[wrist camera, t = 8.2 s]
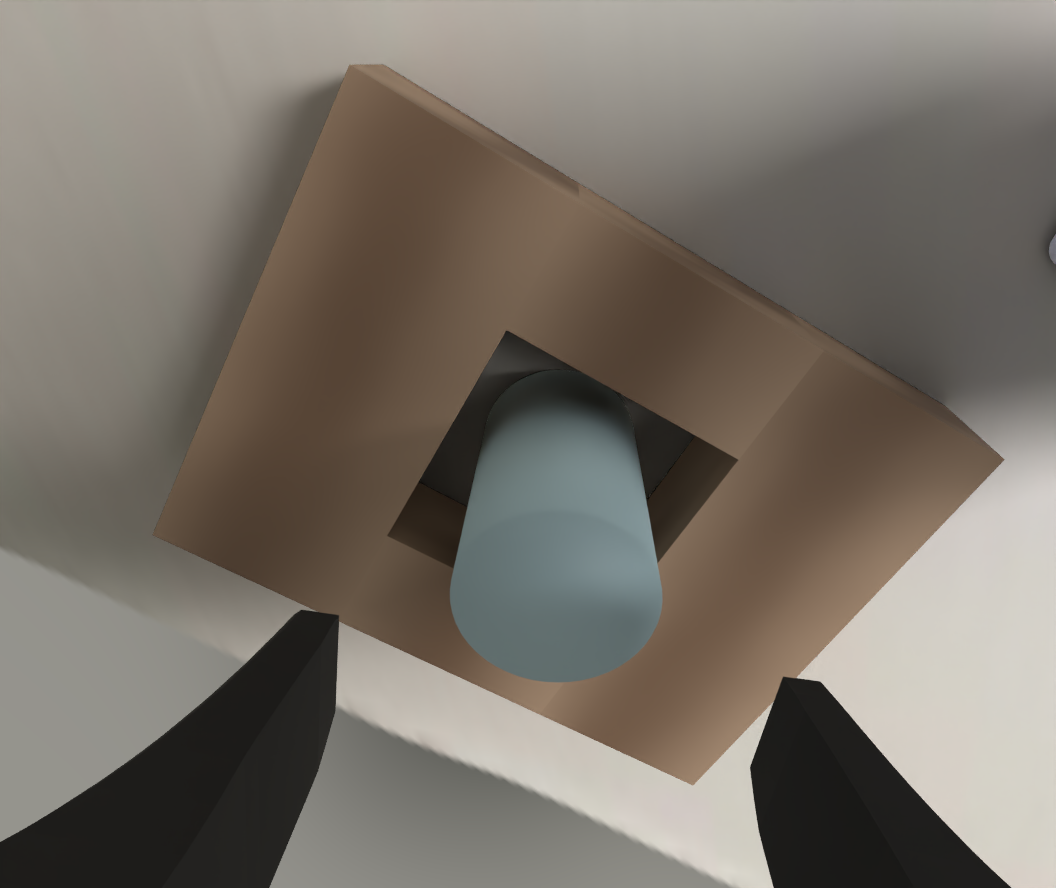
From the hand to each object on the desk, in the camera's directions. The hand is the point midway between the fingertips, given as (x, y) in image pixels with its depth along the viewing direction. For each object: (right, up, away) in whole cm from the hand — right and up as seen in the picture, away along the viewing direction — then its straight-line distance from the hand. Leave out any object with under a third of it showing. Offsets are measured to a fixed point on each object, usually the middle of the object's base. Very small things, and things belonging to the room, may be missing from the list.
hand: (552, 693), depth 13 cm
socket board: (0, +4, +8) cm, 9 cm away
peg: (0, +4, +8) cm, 9 cm away
